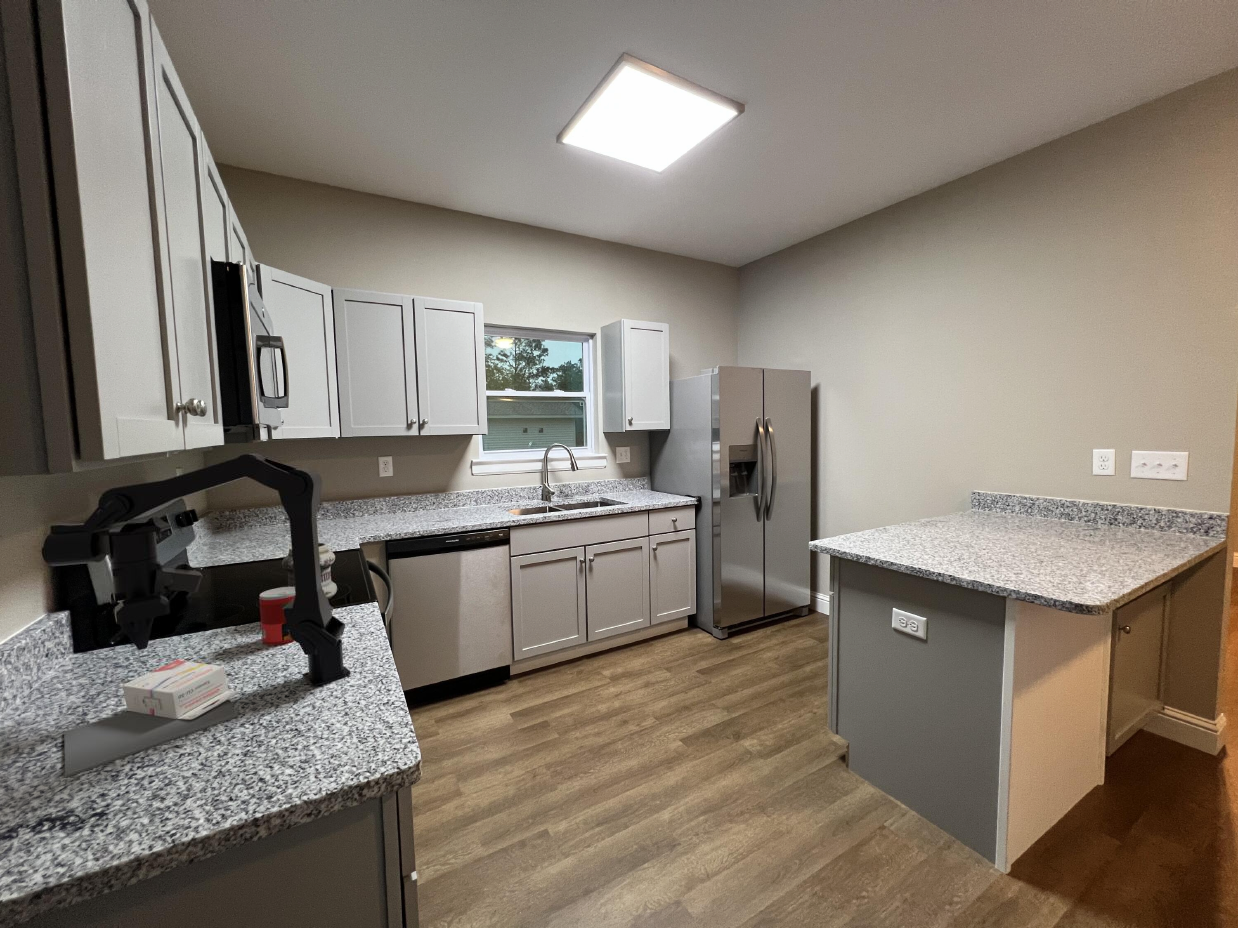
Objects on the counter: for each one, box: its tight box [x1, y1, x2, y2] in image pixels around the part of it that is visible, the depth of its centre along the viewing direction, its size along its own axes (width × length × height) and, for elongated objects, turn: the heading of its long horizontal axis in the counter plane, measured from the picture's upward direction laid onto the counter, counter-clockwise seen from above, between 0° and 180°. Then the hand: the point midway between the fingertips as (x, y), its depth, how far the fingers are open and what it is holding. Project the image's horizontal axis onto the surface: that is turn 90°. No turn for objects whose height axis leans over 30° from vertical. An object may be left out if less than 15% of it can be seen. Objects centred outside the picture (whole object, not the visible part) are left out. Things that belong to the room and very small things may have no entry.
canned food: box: [259, 586, 295, 646], centre depth 114 cm, size 8×8×11 cm
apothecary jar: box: [281, 541, 338, 611], centre depth 130 cm, size 12×12×18 cm
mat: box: [64, 699, 239, 778], centre depth 80 cm, size 16×19×1 cm
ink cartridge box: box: [122, 659, 240, 720], centre depth 86 cm, size 9×5×15 cm
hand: (142, 648), depth 86 cm, fingers closed
